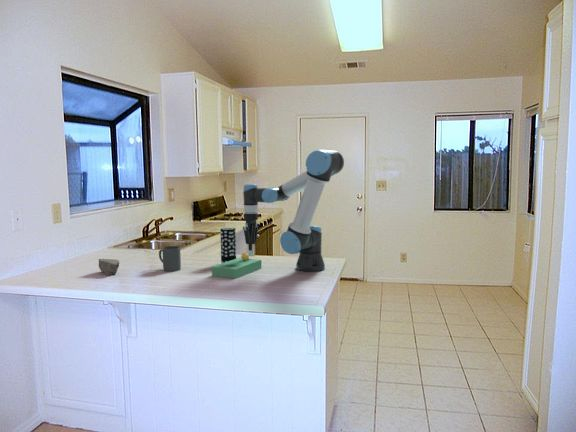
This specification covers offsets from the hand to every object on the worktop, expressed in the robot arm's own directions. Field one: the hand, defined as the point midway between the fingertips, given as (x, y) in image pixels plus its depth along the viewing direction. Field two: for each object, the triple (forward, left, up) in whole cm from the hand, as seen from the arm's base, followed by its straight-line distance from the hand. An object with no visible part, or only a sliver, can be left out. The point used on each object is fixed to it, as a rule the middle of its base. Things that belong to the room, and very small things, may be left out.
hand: (251, 255), depth 249 cm
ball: (0, +7, +1) cm, 7 cm away
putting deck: (0, +14, -6) cm, 15 cm away
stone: (+58, +45, -6) cm, 74 cm away
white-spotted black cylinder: (+15, 0, -6) cm, 16 cm away
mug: (+37, +24, -6) cm, 45 cm away
